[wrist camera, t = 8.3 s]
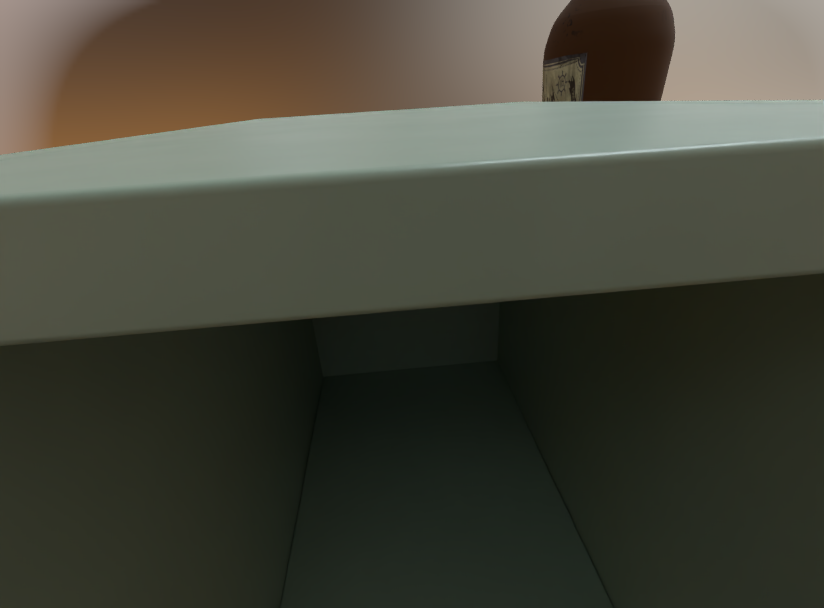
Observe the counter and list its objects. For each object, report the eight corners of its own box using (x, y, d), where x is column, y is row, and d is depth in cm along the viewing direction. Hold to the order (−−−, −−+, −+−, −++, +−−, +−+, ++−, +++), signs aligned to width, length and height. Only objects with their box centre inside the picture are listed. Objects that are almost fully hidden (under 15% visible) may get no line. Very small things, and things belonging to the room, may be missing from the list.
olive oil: (601, 203, 49) (641, -69, 38) (664, 226, 40) (741, -126, 29) (516, 211, 48) (532, -67, 37) (561, 237, 38) (599, -126, 27)
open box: (743, 825, 8) (1407, 95, 2) (189, 910, 7) (-637, 243, 2) (508, 362, 21) (522, 101, 16) (311, 381, 21) (257, 119, 15)
